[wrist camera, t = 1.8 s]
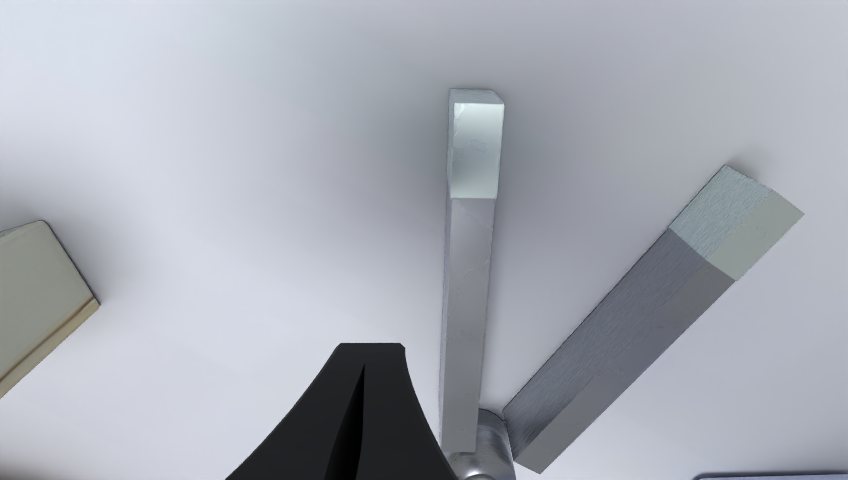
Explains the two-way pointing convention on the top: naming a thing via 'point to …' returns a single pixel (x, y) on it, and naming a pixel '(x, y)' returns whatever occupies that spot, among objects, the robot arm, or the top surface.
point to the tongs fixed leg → (632, 325)
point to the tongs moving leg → (467, 258)
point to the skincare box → (36, 299)
